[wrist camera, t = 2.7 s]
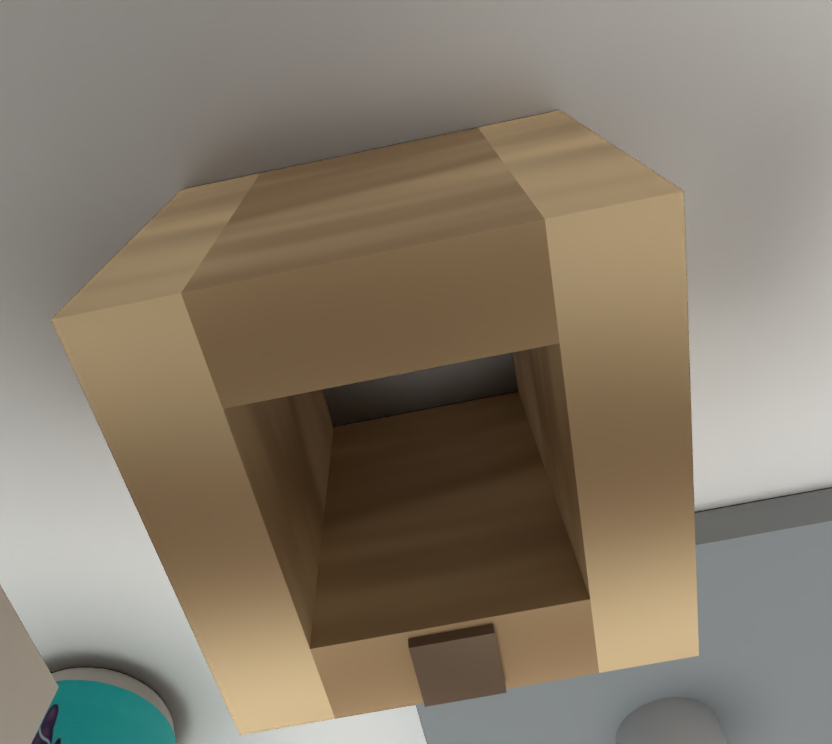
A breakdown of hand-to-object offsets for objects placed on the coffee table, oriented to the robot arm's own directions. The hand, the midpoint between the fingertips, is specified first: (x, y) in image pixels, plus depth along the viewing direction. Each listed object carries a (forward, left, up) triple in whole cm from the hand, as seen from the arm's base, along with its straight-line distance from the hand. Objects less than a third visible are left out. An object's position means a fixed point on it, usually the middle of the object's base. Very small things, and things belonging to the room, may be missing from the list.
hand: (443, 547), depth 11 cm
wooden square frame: (0, 0, -7) cm, 7 cm away
